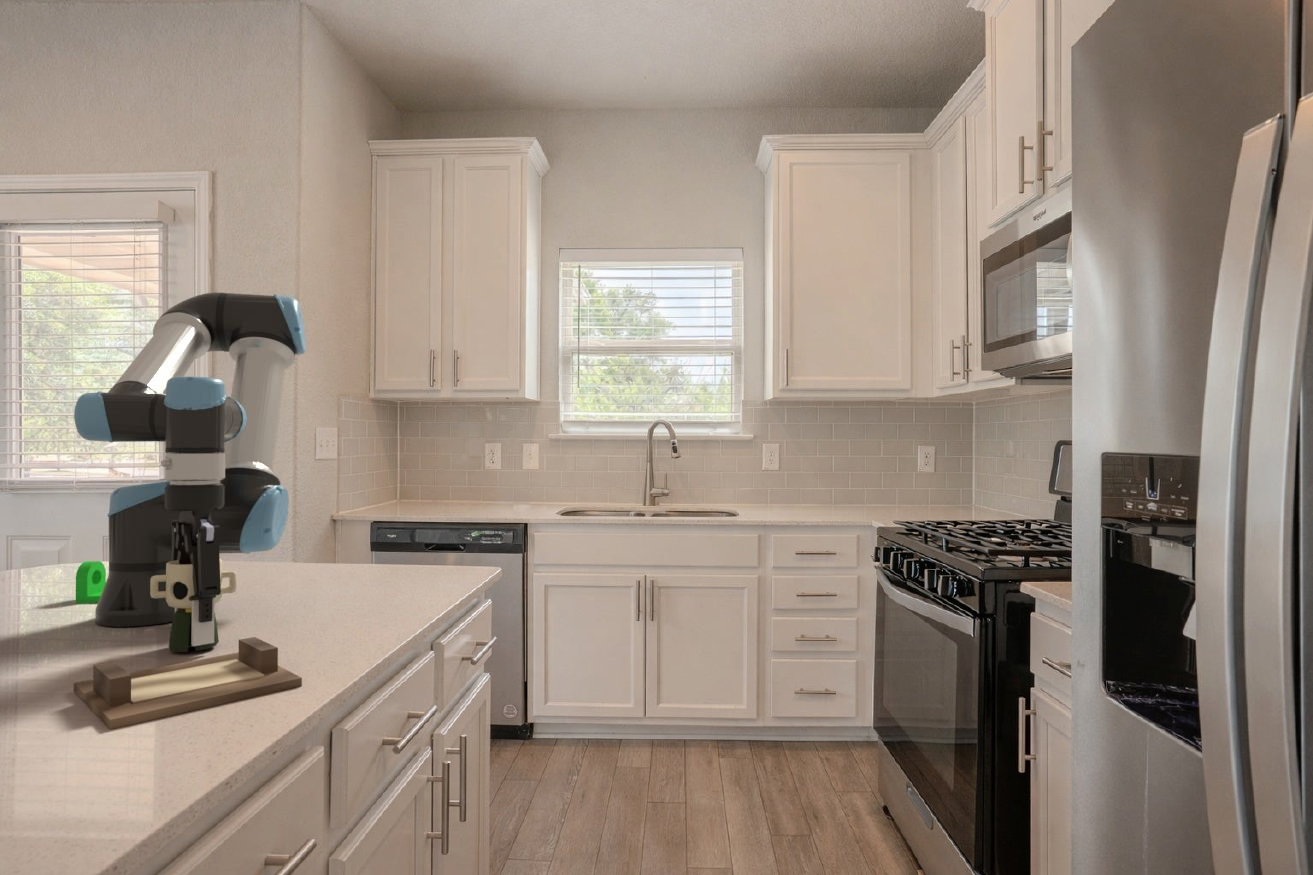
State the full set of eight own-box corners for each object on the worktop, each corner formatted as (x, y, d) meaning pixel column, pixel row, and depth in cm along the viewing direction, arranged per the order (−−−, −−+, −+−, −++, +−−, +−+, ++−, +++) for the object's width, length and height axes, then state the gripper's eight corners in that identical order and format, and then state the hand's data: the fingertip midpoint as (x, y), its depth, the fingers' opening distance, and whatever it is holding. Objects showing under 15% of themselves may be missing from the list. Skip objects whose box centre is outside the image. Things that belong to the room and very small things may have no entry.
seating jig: (73, 690, 94) (73, 658, 94) (248, 657, 108) (248, 629, 108) (110, 729, 82) (110, 691, 82) (301, 685, 96) (302, 653, 96)
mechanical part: (110, 606, 142) (110, 563, 142) (75, 607, 141) (75, 563, 141) (146, 593, 154) (147, 553, 154) (115, 594, 153) (115, 554, 153)
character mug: (145, 660, 107) (146, 567, 107) (153, 648, 113) (154, 559, 113) (234, 651, 111) (235, 562, 111) (237, 640, 118) (238, 555, 118)
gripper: (146, 480, 116) (145, 631, 116) (188, 486, 103) (186, 657, 103) (201, 479, 122) (200, 623, 122) (247, 484, 108) (246, 646, 108)
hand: (194, 638), depth 112 cm, fingers closed on character mug, 7 cm apart
